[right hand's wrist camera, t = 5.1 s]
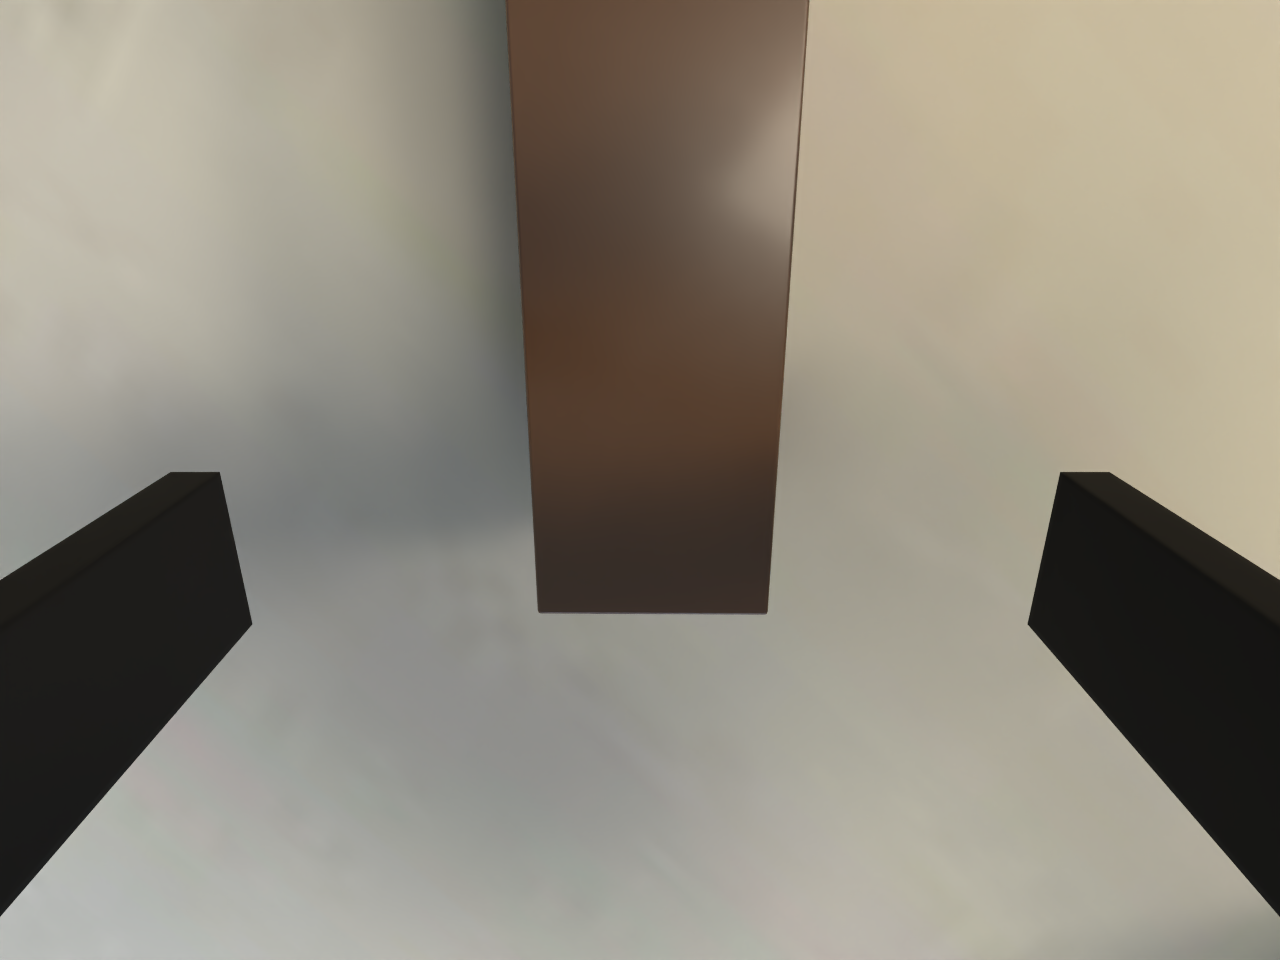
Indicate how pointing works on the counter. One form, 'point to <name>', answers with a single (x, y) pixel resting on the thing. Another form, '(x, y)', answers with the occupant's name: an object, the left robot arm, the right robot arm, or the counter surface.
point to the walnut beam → (655, 292)
